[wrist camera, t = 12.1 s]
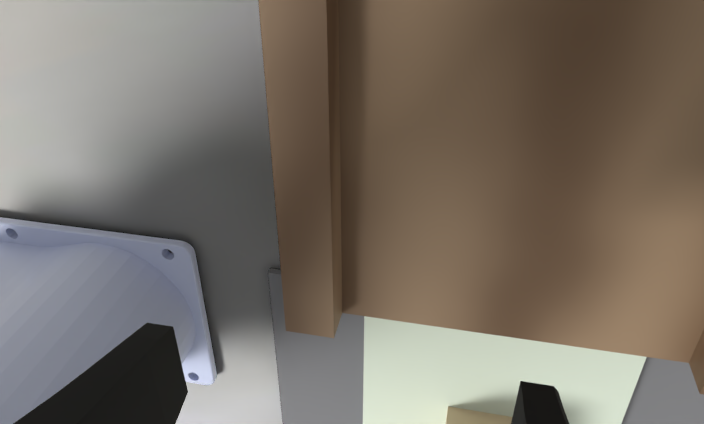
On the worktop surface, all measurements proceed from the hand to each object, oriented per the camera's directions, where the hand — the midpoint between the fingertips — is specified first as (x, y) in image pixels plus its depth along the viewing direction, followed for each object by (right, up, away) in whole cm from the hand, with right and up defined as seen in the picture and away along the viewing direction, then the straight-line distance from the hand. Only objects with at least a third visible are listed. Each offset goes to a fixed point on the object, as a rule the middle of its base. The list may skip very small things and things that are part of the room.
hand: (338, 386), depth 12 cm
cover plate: (+6, -6, +14) cm, 16 cm away
